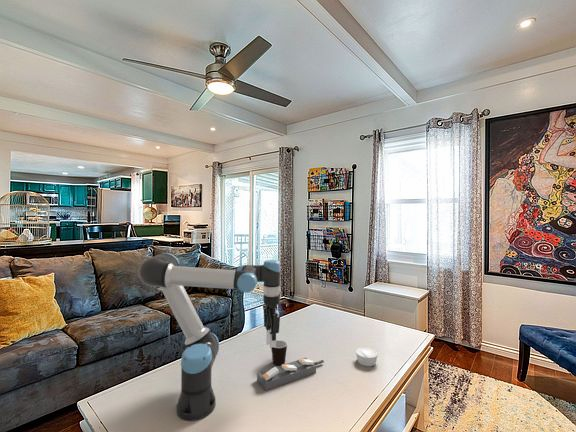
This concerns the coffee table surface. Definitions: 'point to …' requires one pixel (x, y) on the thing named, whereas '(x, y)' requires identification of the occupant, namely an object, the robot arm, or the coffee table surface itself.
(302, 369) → the power strip
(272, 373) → the block
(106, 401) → the coffee table surface
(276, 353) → the coffee mug
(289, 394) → the coffee table surface
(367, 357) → the ramekin
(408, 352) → the coffee table surface
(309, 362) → the block
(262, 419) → the coffee table surface
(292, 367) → the rocker
